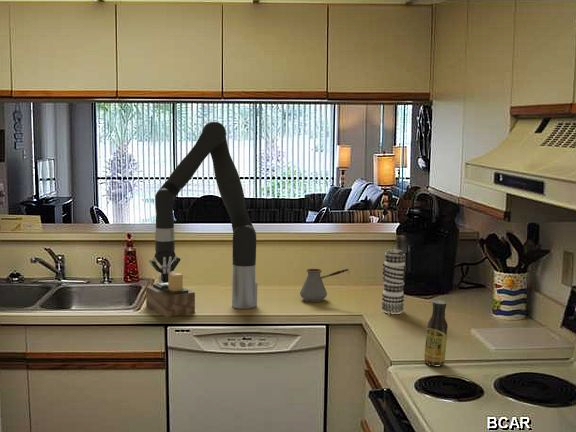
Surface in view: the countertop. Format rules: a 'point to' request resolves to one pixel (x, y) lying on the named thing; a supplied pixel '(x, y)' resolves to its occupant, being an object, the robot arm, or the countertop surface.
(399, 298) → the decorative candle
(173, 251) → the robot arm
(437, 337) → the sauce bottle
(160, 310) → the walnut block
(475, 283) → the countertop surface
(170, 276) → the ochre peg
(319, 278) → the coffee pot
